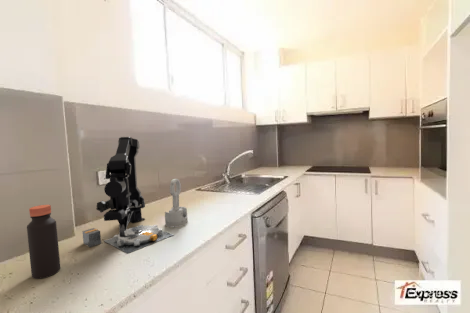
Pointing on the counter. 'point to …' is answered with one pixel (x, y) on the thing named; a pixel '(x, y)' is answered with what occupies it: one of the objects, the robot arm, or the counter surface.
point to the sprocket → (137, 235)
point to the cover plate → (133, 248)
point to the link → (91, 237)
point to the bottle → (43, 242)
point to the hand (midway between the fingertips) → (124, 230)
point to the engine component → (176, 208)
